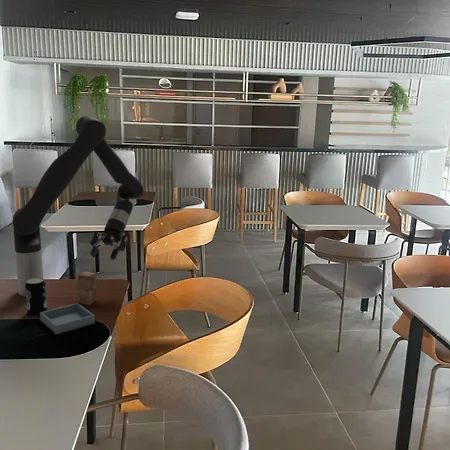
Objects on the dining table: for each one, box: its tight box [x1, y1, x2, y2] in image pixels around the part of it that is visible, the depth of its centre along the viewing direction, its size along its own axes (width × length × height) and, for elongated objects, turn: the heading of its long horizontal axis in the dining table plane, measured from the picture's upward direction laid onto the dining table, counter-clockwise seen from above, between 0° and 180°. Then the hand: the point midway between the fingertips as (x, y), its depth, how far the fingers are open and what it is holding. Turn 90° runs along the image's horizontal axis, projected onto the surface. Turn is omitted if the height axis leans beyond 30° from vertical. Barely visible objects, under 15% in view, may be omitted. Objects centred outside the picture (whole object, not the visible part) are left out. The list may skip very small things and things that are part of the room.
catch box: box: [39, 302, 96, 335], centre depth 156 cm, size 13×13×3 cm
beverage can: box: [25, 277, 48, 317], centre depth 162 cm, size 7×7×12 cm
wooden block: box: [77, 271, 98, 306], centre depth 172 cm, size 4×4×11 cm
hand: (102, 257), depth 180 cm, fingers open, 8 cm apart
